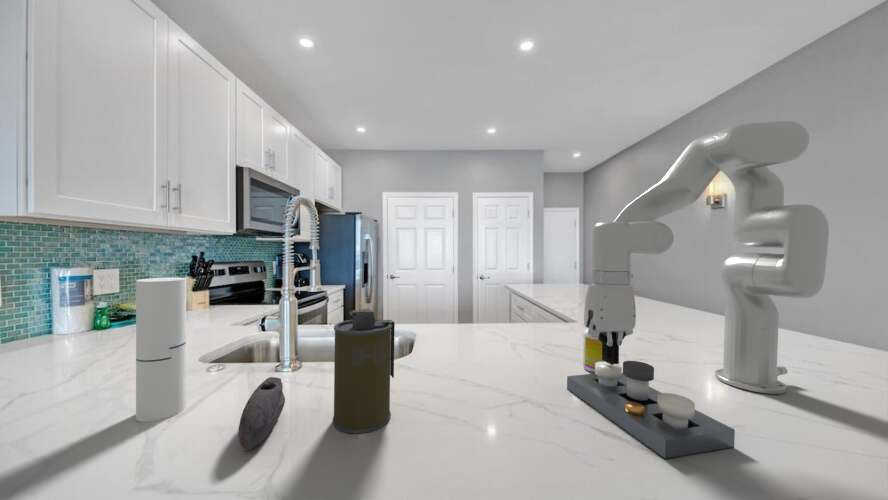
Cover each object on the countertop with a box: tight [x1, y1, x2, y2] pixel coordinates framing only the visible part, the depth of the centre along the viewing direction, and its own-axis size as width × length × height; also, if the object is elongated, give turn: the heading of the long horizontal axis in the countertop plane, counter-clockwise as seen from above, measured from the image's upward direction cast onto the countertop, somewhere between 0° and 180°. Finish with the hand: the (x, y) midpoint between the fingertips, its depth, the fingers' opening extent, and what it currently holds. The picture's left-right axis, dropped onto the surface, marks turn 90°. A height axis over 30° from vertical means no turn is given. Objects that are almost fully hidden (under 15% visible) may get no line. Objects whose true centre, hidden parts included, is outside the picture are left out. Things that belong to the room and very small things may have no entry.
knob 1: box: [594, 362, 623, 388], centre depth 72 cm, size 5×5×6 cm
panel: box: [566, 372, 736, 461], centre depth 64 cm, size 25×14×4 cm, turn 14°
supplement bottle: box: [582, 328, 605, 374], centre depth 87 cm, size 7×7×13 cm
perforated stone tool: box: [238, 376, 286, 451], centre depth 56 cm, size 15×5×7 cm, turn 10°
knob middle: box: [622, 360, 655, 400], centre depth 64 cm, size 5×5×6 cm
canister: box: [332, 308, 396, 434], centre depth 61 cm, size 11×10×20 cm
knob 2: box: [657, 392, 696, 430], centre depth 56 cm, size 5×5×6 cm
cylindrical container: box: [135, 277, 187, 423], centre depth 62 cm, size 7×7×25 cm
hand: (610, 362), depth 72 cm, fingers closed
